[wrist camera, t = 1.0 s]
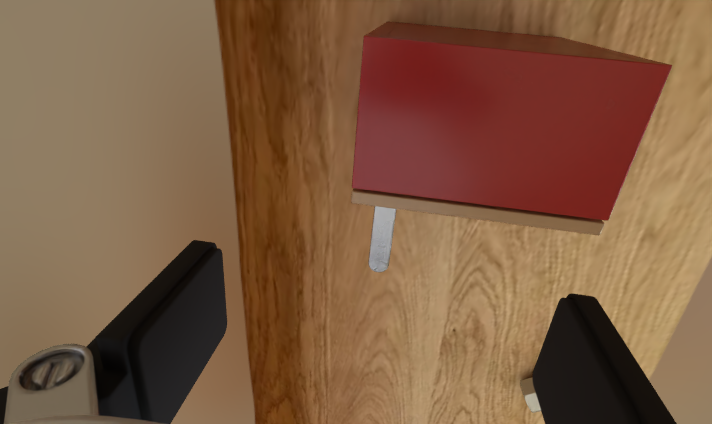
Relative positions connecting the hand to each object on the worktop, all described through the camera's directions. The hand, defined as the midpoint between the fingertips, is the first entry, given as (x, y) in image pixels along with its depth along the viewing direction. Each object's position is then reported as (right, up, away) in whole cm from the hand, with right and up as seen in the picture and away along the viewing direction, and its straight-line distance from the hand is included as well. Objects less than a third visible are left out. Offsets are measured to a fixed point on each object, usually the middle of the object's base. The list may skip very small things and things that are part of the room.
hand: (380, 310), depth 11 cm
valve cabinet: (+8, +14, +24) cm, 29 cm away
